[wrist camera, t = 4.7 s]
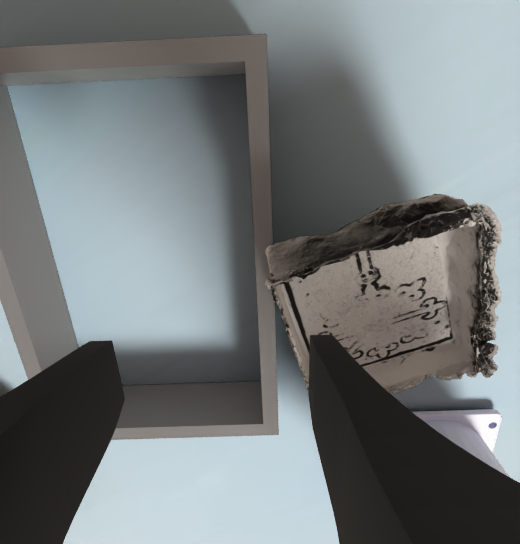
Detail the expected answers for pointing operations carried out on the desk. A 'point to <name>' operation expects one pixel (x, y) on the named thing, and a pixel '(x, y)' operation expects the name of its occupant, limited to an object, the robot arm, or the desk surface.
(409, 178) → the desk surface
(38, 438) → the robot arm
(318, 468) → the desk surface
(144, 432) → the box
